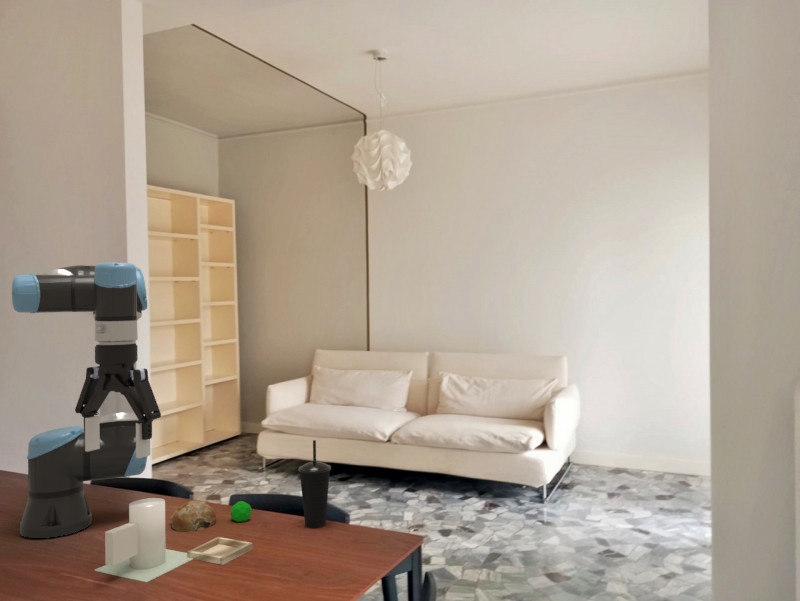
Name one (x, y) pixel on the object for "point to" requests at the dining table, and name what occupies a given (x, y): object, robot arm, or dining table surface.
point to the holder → (220, 550)
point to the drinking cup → (314, 491)
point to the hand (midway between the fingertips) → (117, 453)
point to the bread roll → (193, 516)
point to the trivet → (146, 575)
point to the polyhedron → (241, 511)
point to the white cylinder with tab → (139, 536)
